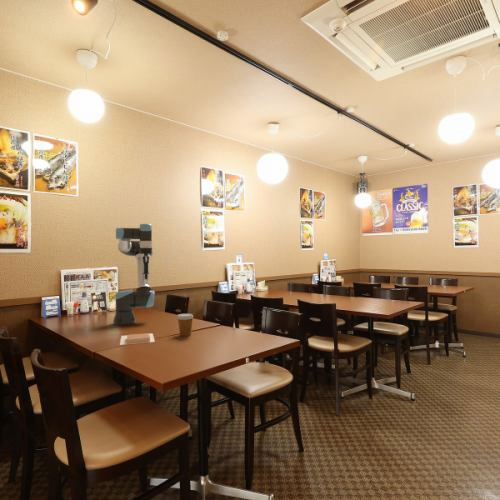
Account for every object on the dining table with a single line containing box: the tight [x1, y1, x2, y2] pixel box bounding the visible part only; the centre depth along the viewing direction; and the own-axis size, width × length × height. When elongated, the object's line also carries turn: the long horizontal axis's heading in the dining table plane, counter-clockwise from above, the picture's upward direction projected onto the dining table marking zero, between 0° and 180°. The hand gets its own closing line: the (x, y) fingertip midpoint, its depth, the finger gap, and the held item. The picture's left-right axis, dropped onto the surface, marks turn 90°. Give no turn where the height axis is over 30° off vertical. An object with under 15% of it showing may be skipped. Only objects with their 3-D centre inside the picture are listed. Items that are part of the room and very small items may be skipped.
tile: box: [127, 332, 150, 344], centre depth 196 cm, size 2×12×12 cm
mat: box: [119, 332, 155, 346], centre depth 199 cm, size 22×18×1 cm
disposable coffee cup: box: [177, 313, 194, 337], centre depth 210 cm, size 10×10×12 cm
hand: (146, 284), depth 227 cm, fingers closed
